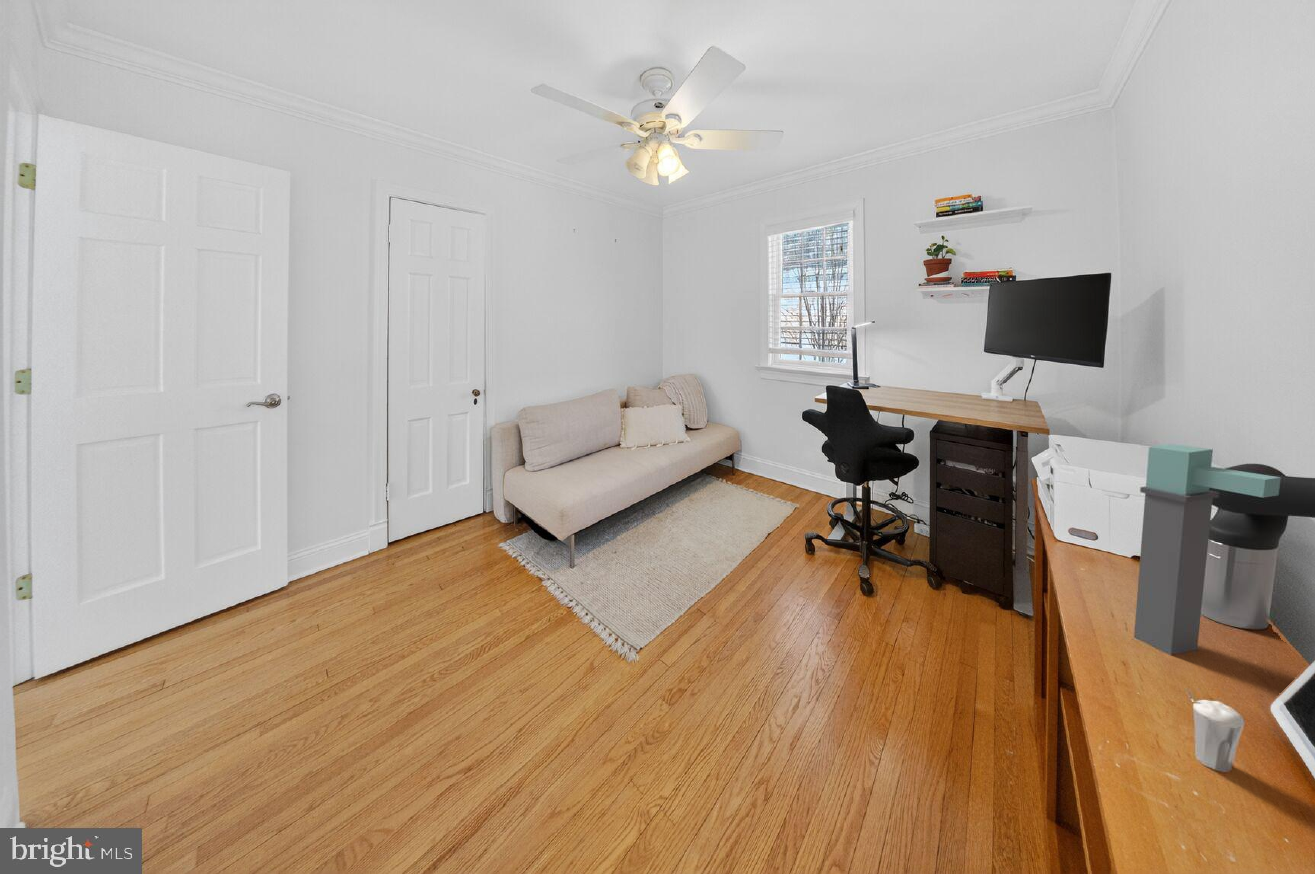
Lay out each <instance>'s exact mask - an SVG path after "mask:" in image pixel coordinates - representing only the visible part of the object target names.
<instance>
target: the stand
mask: <svg viewBox="0 0 1315 874" xmlns="http://www.w3.org/2000/svg"><path fill="white" fill-rule="evenodd" d="M1139 490H1140V491H1139V493H1143V494H1144V495H1145V496H1144V506H1143V516H1142V517H1143V519H1142V531H1141V544H1140V555H1139V556H1140V557H1139V570H1138V582H1137V583H1138V584H1137V595H1136V606H1135V607H1136V608H1135V609H1136V610H1135V620H1134V621H1135V622H1134V634H1133V637H1134V638H1135V639H1138V640H1140V641H1141V642H1144V643H1145V644H1147V645H1150V646H1152V647H1153V648H1156V649H1157V650H1160V651H1161V652H1164V653H1165V654H1167V655H1170V656H1173V655H1178V654H1179V655H1180V654H1183V653H1189V652H1194V651H1197V650H1198V644H1199V636H1200V635H1199V634H1200V626H1201V617H1202V616H1201V615H1202V614H1201V607H1202V597H1203V588H1204V578H1205V568H1206V558H1207V549H1208V539H1209V529H1210V520H1211V519H1212V510H1213V509H1212V508H1213V505H1212V500H1213V498H1218V497H1219V492H1216V491H1211V490H1209V492H1204V493H1197V494H1190V495H1182V494H1177V493H1173V492H1168V491H1163V490H1158V489H1154V488H1149V487H1146V486H1141V487H1140V489H1139Z"/></svg>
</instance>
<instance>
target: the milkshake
mask: <svg viewBox="0 0 1315 874" xmlns="http://www.w3.org/2000/svg"><path fill="white" fill-rule="evenodd" d="M1185 690H1186V692H1187V695H1188V696H1189V699H1190V700H1191V702H1192V710H1193V723H1194V751H1195V752H1194V753H1195V754H1194V755H1195V757H1196V758H1195V759H1196V760H1197V761H1199V762H1200V763H1201V764H1202V765H1203V766H1205V767H1207V768H1210V769H1211V770H1214V771H1217V772H1218V771H1219V772H1221V773H1228V772H1231V771H1232V767H1233V765H1234V760H1235V758H1236V753H1237V749H1238V744H1239V740H1240V738H1241V735H1242V731H1243V729H1244V725H1245V720H1244V718H1243V717H1242V715H1241V714H1239V712H1237V710H1235V709H1234V708H1232V707H1231V706H1229V705H1226V704H1224V703H1223V702H1221V701H1217V700H1208V699H1200V700H1196V701H1195V700H1194V699H1193V696H1192V695H1191V693H1190V691H1189V689H1188V687H1186V689H1185Z"/></svg>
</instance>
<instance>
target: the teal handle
mask: <svg viewBox="0 0 1315 874" xmlns="http://www.w3.org/2000/svg"><path fill="white" fill-rule="evenodd" d="M1213 451H1214V450H1213V449H1212V448H1206V447H1197V446H1192V445H1191V446H1189V445H1183V444H1173V443H1170V444H1160V445H1155V446H1149V447H1148V456H1147V468H1146V480H1145V481H1146V483H1145V487H1149V488H1154V489H1158V490H1163V491H1168V492H1173V493H1177V494H1182V495H1190V494H1197V493H1204V492H1209V487H1210V488H1215V489H1220V490H1226V491H1231V492H1236V493H1242V494H1247V495H1252V496H1257V497H1270V496H1277V495H1279V487H1280V479H1281V477H1274V476H1268V475H1262V474H1255V473H1249V472H1242V471H1236V470H1229V469H1224V468H1223V467H1214V466H1212V464H1213V463H1212V462H1213Z"/></svg>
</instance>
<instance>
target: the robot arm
mask: <svg viewBox="0 0 1315 874" xmlns="http://www.w3.org/2000/svg"><path fill="white" fill-rule="evenodd" d="M1223 469H1229V470H1236V471H1242V472H1249V473H1255V474H1262V475H1268V476H1274V477H1281V479H1280V487H1279V495H1277V496H1270V497H1257V496H1252V495H1247V494H1242V493H1236V492H1231V491H1226V490H1220V489H1215V488H1210V487H1209V490H1211V491H1216V492H1219V497H1218V498H1213V500H1212V507H1213V506H1214V507H1215V508H1217V510H1216V512H1215V513H1214V516H1213V517H1211V519H1210V529H1209V539H1208V549H1207V558H1206V568H1205V578H1204V588H1203V597H1202V607H1201V615H1202V616H1203V617H1206V618H1208V619H1210V620H1212V621H1215V622H1217V623H1220V624H1222V625H1227V626H1230V627H1235V628H1240V629H1245V630H1246V629H1247V630H1264V629H1266V628H1268V626H1269V621H1270V612H1271V606H1272V605H1271V604H1272V598H1273V590H1274V584H1275V583H1274V582H1275V575H1276V566H1277V557H1278V550H1279V543H1280V539H1281V537H1283V535H1284V533H1285V531H1286V528H1287V525H1288V520H1289V517H1300V518H1302V517H1304V518H1313V519H1314V518H1315V477H1303V476H1301V477H1300V476H1289V475H1288V476H1287V475H1286V474H1285V473H1283V472H1282V471H1281V470H1279V469H1277V468H1276V467H1273V466H1271V465H1267V464H1262V463H1242V464H1237V465H1233V466H1230V467H1225V468H1223ZM1267 619H1268V621H1267Z"/></svg>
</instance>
